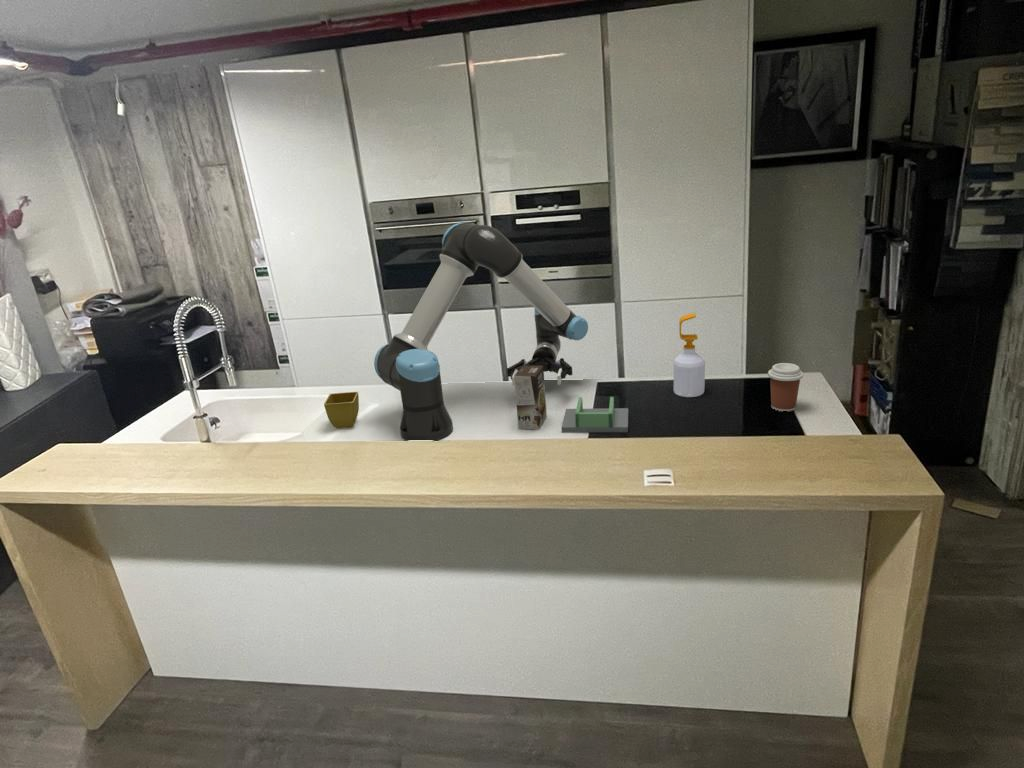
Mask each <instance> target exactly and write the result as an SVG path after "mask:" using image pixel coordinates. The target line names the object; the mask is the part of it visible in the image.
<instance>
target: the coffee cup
mask: <svg viewBox="0 0 1024 768" xmlns="http://www.w3.org/2000/svg"><path fill="white" fill-rule="evenodd" d="M767 376H768V377H769V379H770V382H769V383H770V402H771V404H770V407H771V409H773V410H774V409H775V411H777V410H778V411H777V412H783V411H787V412H793V411H795V410H796V408H797V401H798V394H799V389H800V382H801V379H803V378H804V372H803V371H802V370H801V369H800V366H799V365H797V364H795V363H791V362H790V363H789V362H780V363H776V364H773V365H772V367H771V369H769V370H768V372H767Z"/></svg>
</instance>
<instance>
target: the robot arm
mask: <svg viewBox="0 0 1024 768" xmlns="http://www.w3.org/2000/svg"><path fill="white" fill-rule="evenodd" d="M441 245H442V250H441V251H440V254H439V260H440V264H439V266H438V268H437V270H435V271H436V272H435V273H434V275H433V277H432V278H431V280H430V282H429V284H428V286H427V287H426V289H425V290H424V293H423V294H422V296H421V298H420V300H419V302H418V303H417V305H416V307H415V309H414V310H413V312H412V314H411V316H410V317H409V319H408V321H407V323H406V325H405V326H404V328H403V330H402V331H401V332H400V333H397V334H394V335H393V337H392V339H391V340H390V342H389V343H387V344H385V345H382V346H381V347H380V348H379V349H378V350H377V352H376V353H375V356H374V359H373V363H374V364H373V366H374V370H375V373H376V375H377V376H378V377H379V378H380V379H381V380H382V382H384V383H385V384H387V385H389V386H391V387H393V388H395V389H396V390H398V391H399V392H400V398H401V399H400V400H401V403H402V405H401V406H402V414H401V420H400V425H399V434H400V437H401V438H402V439H403V440H404V441H406V440H436V441H439V440H441V439H444V438H446V437H448V436H450V435H451V433H453V430H454V424H453V419H452V418H451V416H450V414H449V411H448V410H447V408H446V405H445V403H444V402H445V401H444V394H443V385H442V379H441V378H442V377H441V365H440V363H439V358H438V356H437V355H436V353H434V352H433V351H431V350H429V348H428V346H429V344H430V343H431V341H432V339H433V337H434V335H435V333H436V332H437V331H438V328H439V327H440V324H441V323H442V321H443V320H444V318H445V316H446V314H447V312H448V311H449V309H450V306H451V305H452V303H453V301H454V300H455V298H456V296H457V294H458V292H459V291H460V289H461V288H462V285H463V284H464V282H465V280H466V279H467V278H468V277H473V276H474V275H475V273H476V271H477V270H478V267H484V268H485V269H487V270H489V271H491V272H492V273H493V274H494V275H495V276H496V277H498V278H500V279H504V280H505V281H507V282H508V283H509V285H511V286H512V287H513V289H515V290H516V292H517V293H519V294H520V295H521V296H522V298H524V299H525V300H526V301H527V302H528V303H529V305H531V306H532V307H533V308H534V315H533V317H534V322H535V323H534V324H535V332H536V333H535V335H536V337H535V338H536V348H535V349H534V353H533V354H532V357H531V359H530V360H528V361H526V359H525V358H522V359H520V361H518V362H516V363H515V364H513V365H511V366H509V367H507V368H506V375H507V377H509V378H510V380H511V382H512V383H511V385H512V386H514V387H515V380H514V375H515V374H516V373H517V372H518V371H519V370H520V368H521V367H522V366H543V369H544V373H546V372H550V373H555V374H557V376H556V380H557V385H559V386H560V385H561V383H562V380H563V379H566V377H567V376H573V367H572V365H571V364H569V363H568V362H566V361H565V360H564V359H565V358H563V357H561V358H559V359H558V360H557V358H558V355H559V352H560V351H561V340H560V337H563V338H566V339H568V340H570V341H572V340H573V341H581V340H583V339H584V338H585V337H586V335H587V334H588V332H589V331H588V330H589V324H588V323H589V322H588V321H587V320H586V318H584V317H582V316H580V315H576V314H575V313H574V312H573V311H572V310H571V309H570V308H569V307H568V306H567V305H566V304H565V303H564V301H562V300H561V298H560V297H558V295H557V294H556V293H555V292H554V291H553V290H552V289H551V288H550V287H549V286H548V285H547V284H546V283H545V282H544V281H543V279H541V278H540V276H539V275H538V274H537V273H536V272H535V271H534V270H533V269H532V267H530V266H529V265H528V264H527V263H526V262H525V260H524V259H523V254H522V253H521V251H520V250H519V249H518V248H517V247H516V245H514V244H513V243H512V242H511V241H510V240H509V239H508V238H507V237H506V236H505V235H504V234H503V233H502V232H500V231H499V230H498V229H496V228H494V227H493V226H491V225H486V224H477V223H472V222H458V223H454V224H453V225H451V226H450V227H448V228H447V230H446V231H445V232H444V234H443V237H442V240H441Z"/></svg>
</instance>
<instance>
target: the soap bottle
mask: <svg viewBox="0 0 1024 768" xmlns="http://www.w3.org/2000/svg"><path fill="white" fill-rule="evenodd" d="M694 318H696V312H691V313H688V314H684V315H682V316H681V317H680V318H679V327H678V328H679V329H678V330H679V338H680V339H681V340H683V341H684V342H686V344H684V345H683V352H682V353H680V354H679V355H677V356H676V357H675V358H674V360H673V393H674V394H675V395H677V396H679V397H683V398H696V397H700V396H702V395H704V393H705V387H706V386H705V379H706V377H705V376H706V375H705V374H706V362H705V361H706V360H705V359H704V358H703V356H702V355H700V354H698V353H696V345H695V344H693V342H695V340H698V337H699V336H698V334H694V333H693V334H683V333H682V324H683V322H685V321H689V320H692V319H694Z"/></svg>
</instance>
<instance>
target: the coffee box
mask: <svg viewBox="0 0 1024 768" xmlns="http://www.w3.org/2000/svg"><path fill="white" fill-rule="evenodd" d="M514 380H515V386H514V392H515V404H516V418H517V429H521V428H523V429H524V430H535V429H538V430H540V428H541V427H542V425H543V424H544V422H545V421H546V419H547V418H546V417H548V414H547V402H546V401H547V400H546V387H545V372H544V369H543V366H522V367H521V368H520V370H519V371H518V372H517V373H516V374H515V375H514ZM544 420H545V421H544ZM542 423H543V424H542Z"/></svg>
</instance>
